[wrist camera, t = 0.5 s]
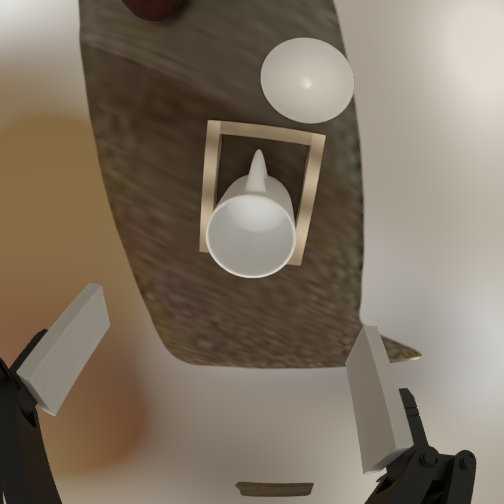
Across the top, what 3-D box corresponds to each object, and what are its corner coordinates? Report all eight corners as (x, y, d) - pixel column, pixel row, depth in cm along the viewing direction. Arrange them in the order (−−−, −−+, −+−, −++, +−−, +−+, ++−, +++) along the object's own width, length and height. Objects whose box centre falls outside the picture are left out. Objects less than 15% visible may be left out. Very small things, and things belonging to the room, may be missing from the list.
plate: (266, 33, 26) (266, 31, 25) (356, 50, 26) (358, 48, 25) (255, 116, 31) (255, 116, 30) (345, 131, 31) (347, 131, 30)
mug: (297, 148, 32) (306, 161, 23) (287, 238, 38) (290, 282, 28) (227, 142, 33) (206, 153, 23) (223, 232, 38) (205, 273, 29)
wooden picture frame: (211, 120, 32) (207, 120, 30) (322, 134, 31) (325, 135, 29) (203, 244, 39) (199, 251, 38) (299, 258, 39) (300, 265, 37)
